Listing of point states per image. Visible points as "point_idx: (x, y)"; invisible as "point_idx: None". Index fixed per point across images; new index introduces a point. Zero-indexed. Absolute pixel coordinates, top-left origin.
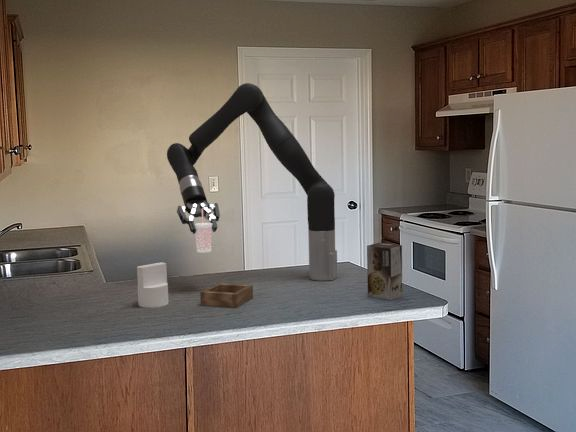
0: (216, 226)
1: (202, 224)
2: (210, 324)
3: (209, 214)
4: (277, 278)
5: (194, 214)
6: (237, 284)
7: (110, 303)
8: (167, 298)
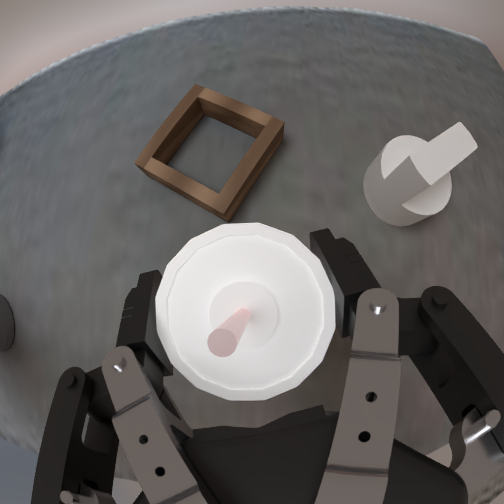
0: (134, 294)
1: (250, 282)
2: (268, 30)
3: (144, 397)
4: (64, 368)
5: (336, 413)
6: (168, 182)
7: (476, 227)
8: (368, 172)
